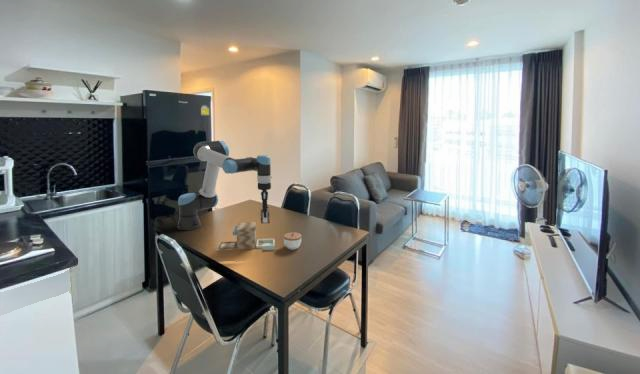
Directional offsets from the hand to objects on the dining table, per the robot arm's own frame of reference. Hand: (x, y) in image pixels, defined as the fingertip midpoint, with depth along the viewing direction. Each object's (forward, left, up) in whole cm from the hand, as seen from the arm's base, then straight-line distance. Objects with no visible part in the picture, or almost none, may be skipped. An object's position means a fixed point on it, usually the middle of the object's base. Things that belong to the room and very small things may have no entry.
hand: (265, 220), depth 178 cm
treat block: (0, 0, -1) cm, 1 cm away
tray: (0, 0, -16) cm, 16 cm away
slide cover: (-13, +1, -7) cm, 15 cm away
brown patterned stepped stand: (-18, +1, -16) cm, 24 cm away
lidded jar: (+16, -3, -17) cm, 23 cm away
